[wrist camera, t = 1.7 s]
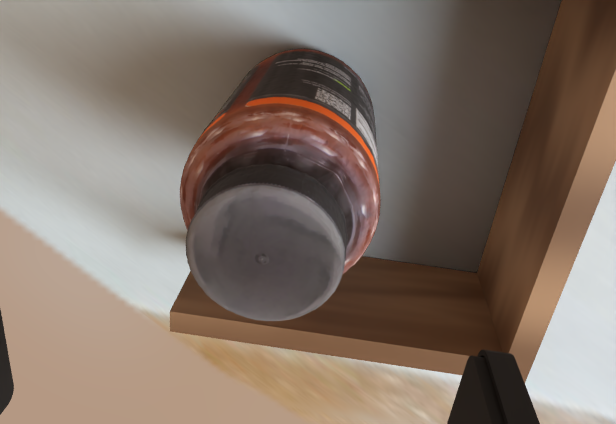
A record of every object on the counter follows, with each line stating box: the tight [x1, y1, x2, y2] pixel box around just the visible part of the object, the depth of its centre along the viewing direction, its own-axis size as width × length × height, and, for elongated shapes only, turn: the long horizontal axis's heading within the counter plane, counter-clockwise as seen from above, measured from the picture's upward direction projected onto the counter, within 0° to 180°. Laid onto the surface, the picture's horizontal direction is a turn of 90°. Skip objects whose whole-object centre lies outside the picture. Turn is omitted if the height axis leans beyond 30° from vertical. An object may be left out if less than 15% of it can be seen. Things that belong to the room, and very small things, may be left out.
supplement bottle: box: [180, 49, 380, 321], centre depth 18 cm, size 6×6×11 cm
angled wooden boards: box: [170, 0, 616, 383], centre depth 20 cm, size 15×14×6 cm
